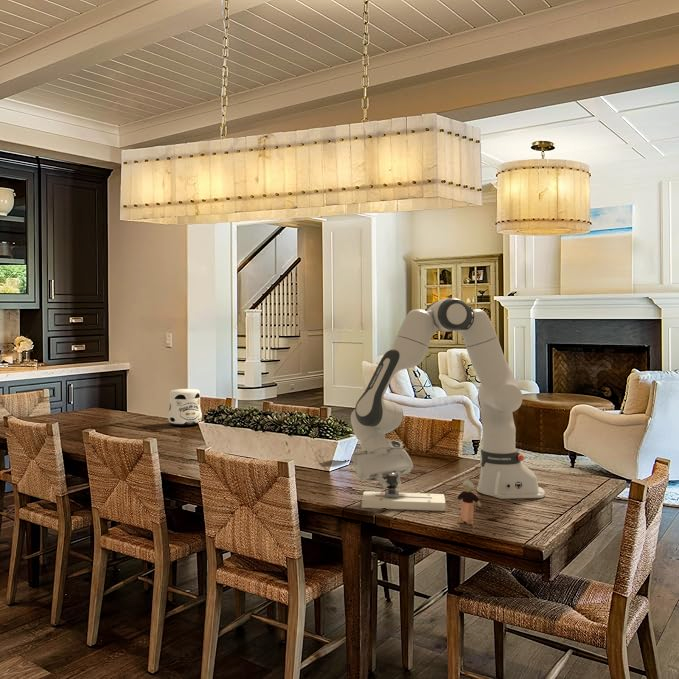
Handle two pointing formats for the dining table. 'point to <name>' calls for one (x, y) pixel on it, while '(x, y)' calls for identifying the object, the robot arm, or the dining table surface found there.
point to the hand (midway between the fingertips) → (392, 486)
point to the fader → (392, 485)
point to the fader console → (404, 501)
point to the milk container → (184, 407)
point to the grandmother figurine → (467, 502)
